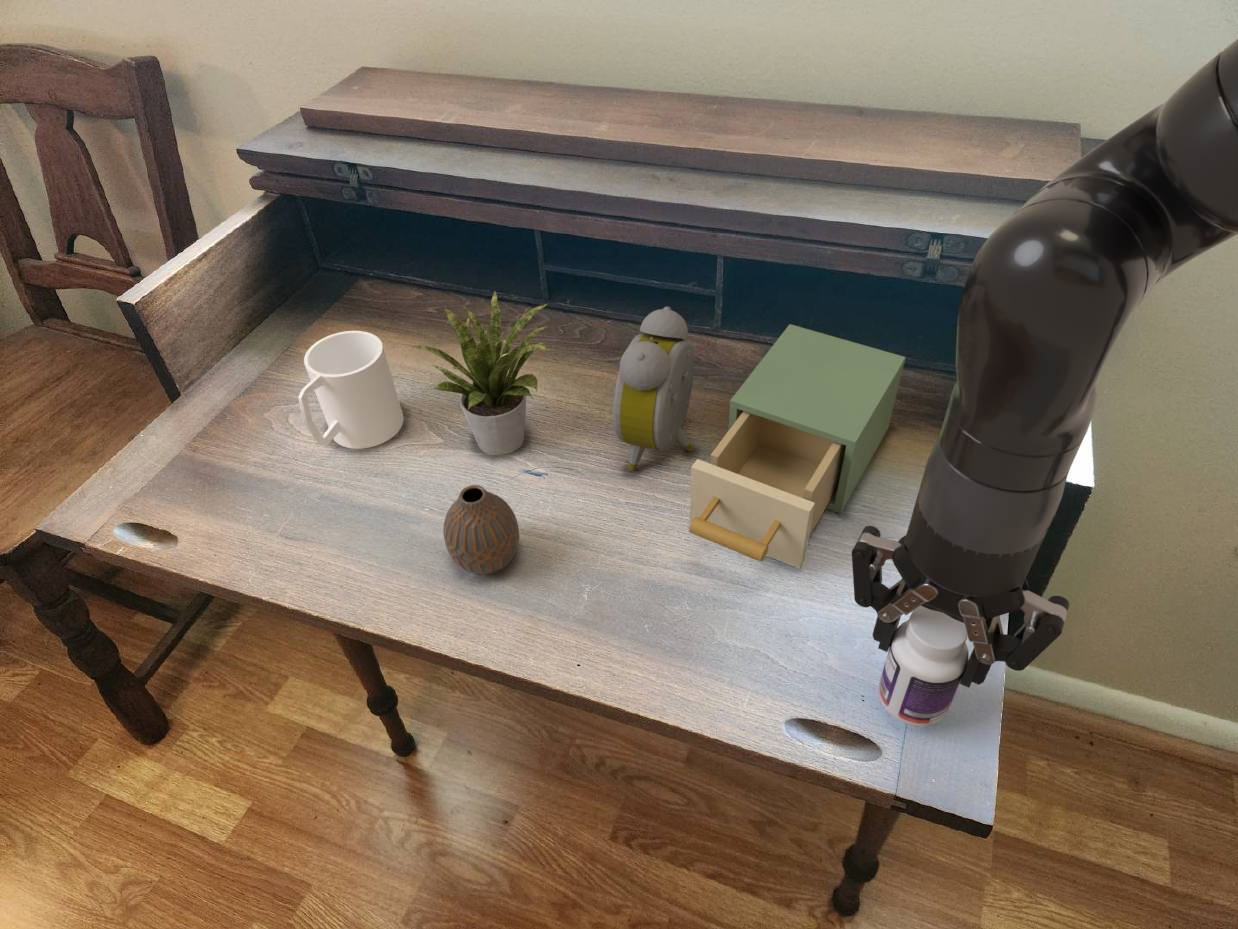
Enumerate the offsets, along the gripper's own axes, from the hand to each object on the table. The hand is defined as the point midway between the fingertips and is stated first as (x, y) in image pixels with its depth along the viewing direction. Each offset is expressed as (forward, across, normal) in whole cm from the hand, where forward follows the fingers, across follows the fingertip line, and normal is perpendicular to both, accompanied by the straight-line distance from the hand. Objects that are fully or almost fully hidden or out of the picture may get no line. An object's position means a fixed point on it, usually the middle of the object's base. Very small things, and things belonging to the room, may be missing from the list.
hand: (926, 658), depth 62 cm
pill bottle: (+6, 0, 0) cm, 6 cm away
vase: (+7, -39, -5) cm, 40 cm away
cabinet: (+7, -19, +24) cm, 32 cm away
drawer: (+6, -19, +12) cm, 23 cm away
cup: (+7, -64, +2) cm, 64 cm away
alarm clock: (+7, -33, +17) cm, 38 cm away
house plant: (+7, -48, +10) cm, 49 cm away
